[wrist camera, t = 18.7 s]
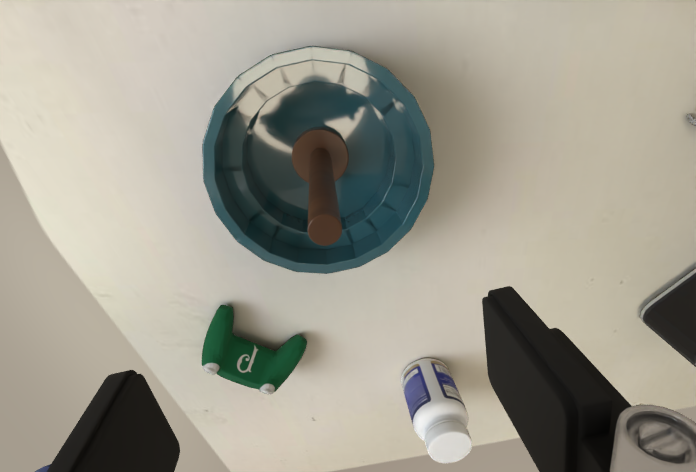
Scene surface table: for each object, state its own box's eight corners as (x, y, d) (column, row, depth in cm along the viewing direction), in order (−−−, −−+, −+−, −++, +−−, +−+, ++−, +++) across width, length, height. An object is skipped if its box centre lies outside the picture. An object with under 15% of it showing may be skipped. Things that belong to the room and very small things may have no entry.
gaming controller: (216, 306, 41) (188, 366, 38) (222, 301, 37) (191, 366, 35) (299, 340, 43) (277, 398, 41) (311, 338, 40) (288, 401, 37)
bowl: (254, 256, 37) (243, 292, 31) (192, 73, 30) (165, 78, 25) (424, 219, 37) (443, 249, 31) (399, 27, 30) (418, 21, 25)
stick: (300, 186, 34) (290, 280, 20) (285, 133, 32) (264, 196, 18) (352, 175, 34) (379, 261, 20) (341, 121, 32) (363, 174, 18)
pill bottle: (404, 398, 45) (424, 474, 37) (396, 362, 43) (416, 434, 35) (451, 388, 45) (481, 461, 37) (446, 351, 43) (476, 421, 35)
